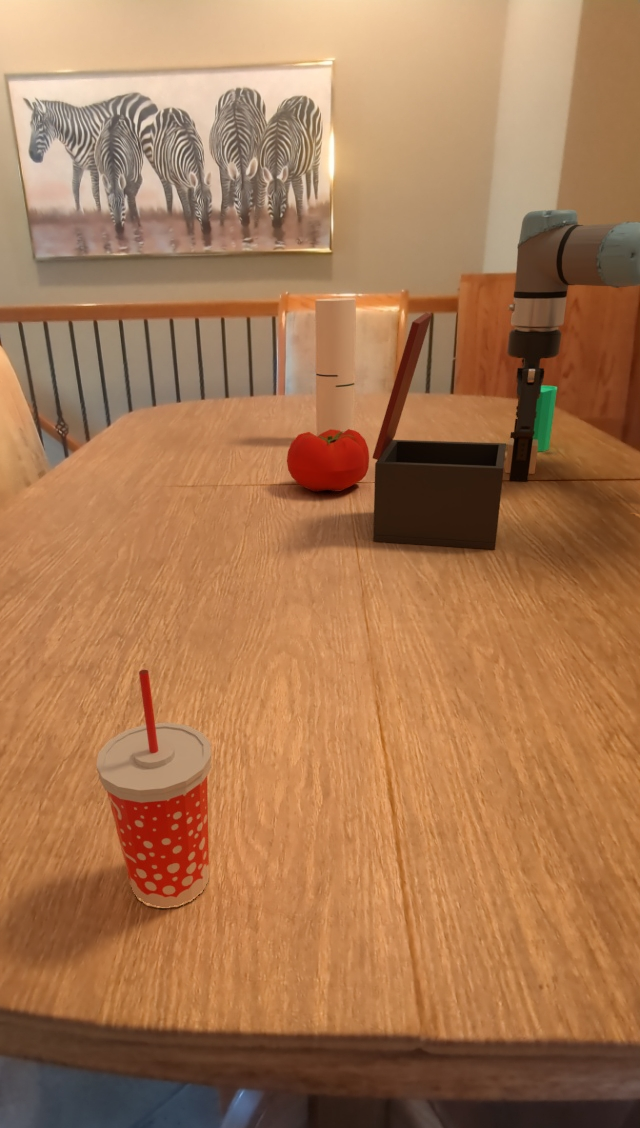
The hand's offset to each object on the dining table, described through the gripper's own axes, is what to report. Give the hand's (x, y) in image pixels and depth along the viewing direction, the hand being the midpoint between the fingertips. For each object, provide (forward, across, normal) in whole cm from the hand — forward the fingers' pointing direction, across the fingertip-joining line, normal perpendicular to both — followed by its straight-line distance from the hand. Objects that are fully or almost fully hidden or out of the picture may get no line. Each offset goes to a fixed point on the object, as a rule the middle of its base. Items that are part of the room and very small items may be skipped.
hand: (518, 469), depth 123 cm
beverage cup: (0, +98, -19) cm, 100 cm away
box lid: (-18, +32, -15) cm, 40 cm away
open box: (0, +32, -10) cm, 34 cm away
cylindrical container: (+1, -15, -34) cm, 37 cm away
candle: (0, -16, +2) cm, 16 cm away
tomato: (0, +16, -28) cm, 32 cm away
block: (0, 0, 0) cm, 0 cm away
